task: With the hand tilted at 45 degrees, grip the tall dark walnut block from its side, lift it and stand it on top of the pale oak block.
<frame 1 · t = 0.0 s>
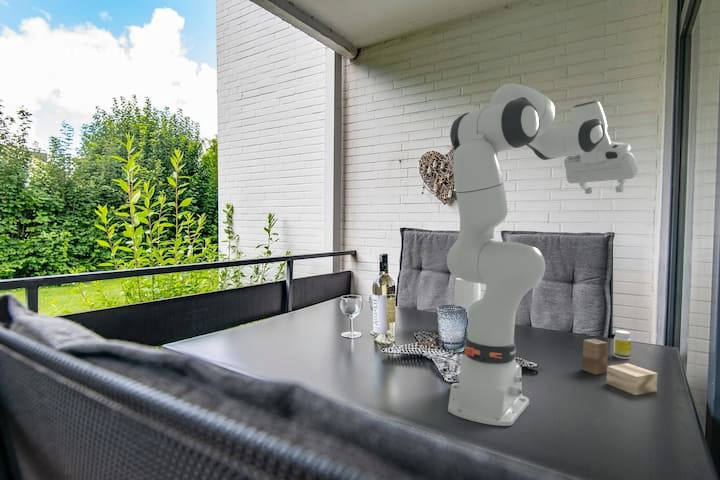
hand: (604, 192, 129), 54 cm above the table, tool tilted 30°, fingers open, 8 cm apart
walnut block: (594, 371, 119), on the table
supplement bottle: (621, 357, 132), on the table
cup: (466, 333, 160), on the table
oak block: (631, 387, 107), on the table
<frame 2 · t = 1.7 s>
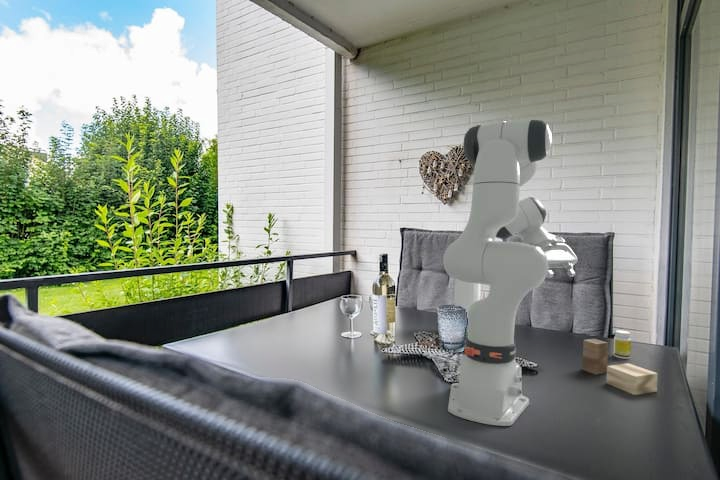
hand: (562, 276, 129), 27 cm above the table, tool tilted 45°, fingers open, 8 cm apart
nothing on the table moved.
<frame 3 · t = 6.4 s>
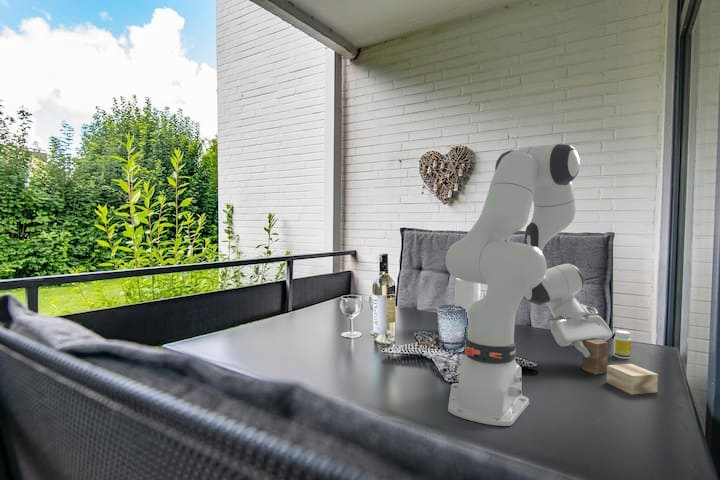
hand: (597, 355, 118), 5 cm above the table, tool tilted 45°, fingers closed on walnut block, 4 cm apart
walnut block: (594, 371, 119), on the table, touching gripper
everything else where it was.
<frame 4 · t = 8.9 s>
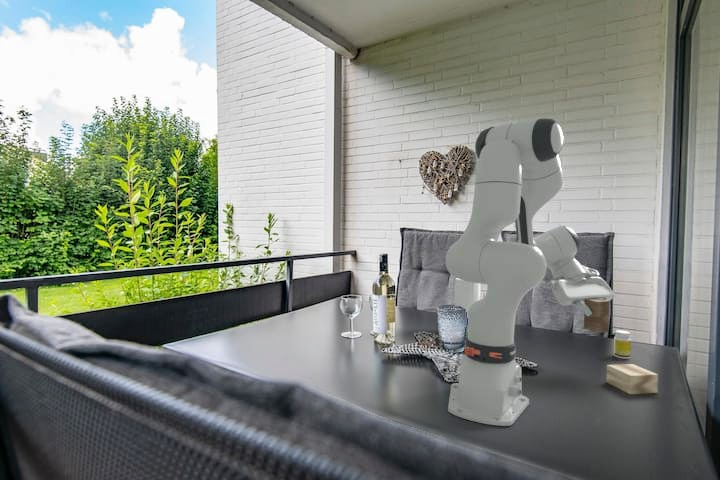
hand: (598, 314, 117), 17 cm above the table, tool tilted 45°, fingers closed on walnut block, 4 cm apart
walnut block: (596, 330, 118), point 12 cm above the table, touching gripper
everything else where it was.
when the fingers open (11 cm above the table, at t = 11.7 s): walnut block drops 2 cm, point 5 cm above the table.
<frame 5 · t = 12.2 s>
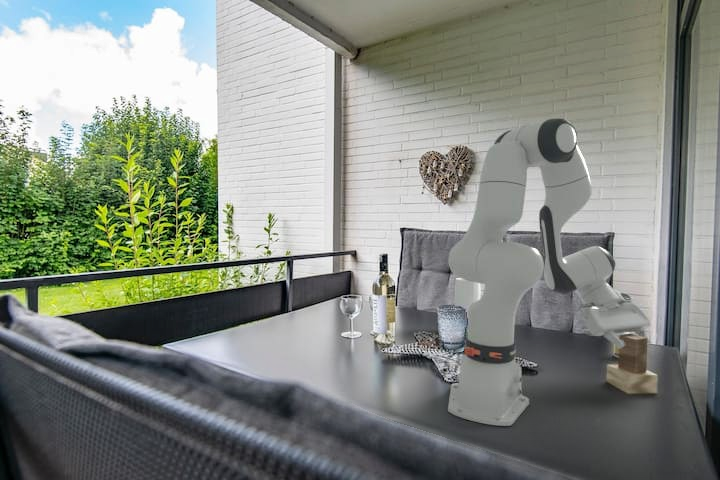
hand: (635, 346, 106), 11 cm above the table, tool tilted 45°, fingers open, 8 cm apart
walnut block: (632, 369, 107), point 5 cm above the table
everything else where it was.
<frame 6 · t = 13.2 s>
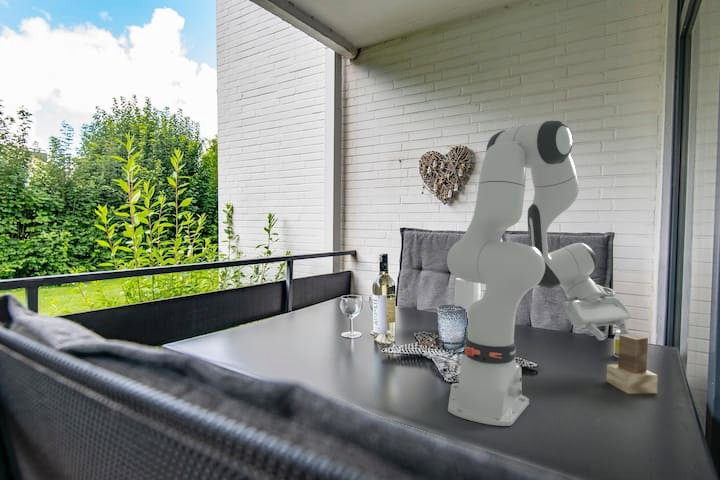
hand: (615, 337, 111), 12 cm above the table, tool tilted 45°, fingers open, 8 cm apart
walnut block: (632, 369, 107), point 5 cm above the table, touching oak block
oak block: (630, 387, 107), on the table, touching walnut block
everything else where it was.
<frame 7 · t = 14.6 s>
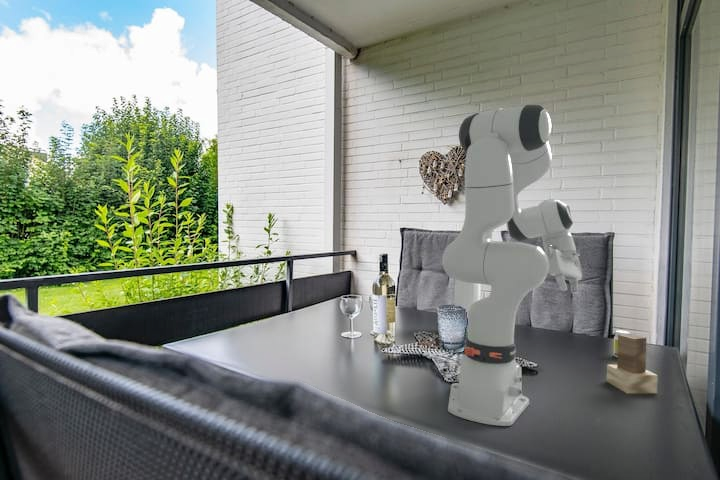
hand: (569, 291, 123), 23 cm above the table, tool tilted 20°, fingers open, 8 cm apart
nothing on the table moved.
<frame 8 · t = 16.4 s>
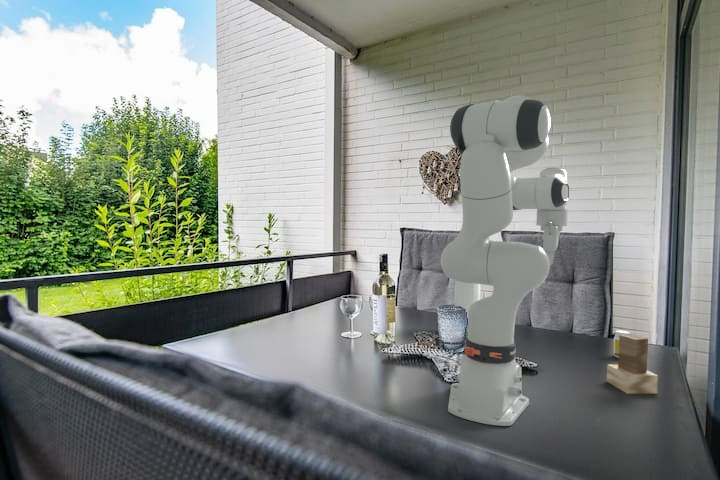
hand: (550, 263, 127), 31 cm above the table, tool pointing down, fingers open, 8 cm apart
nothing on the table moved.
at the end: walnut block 0.0 cm from the oak block (horizontally); walnut block point 4.7 cm above the table; walnut block tilted 0° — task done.
